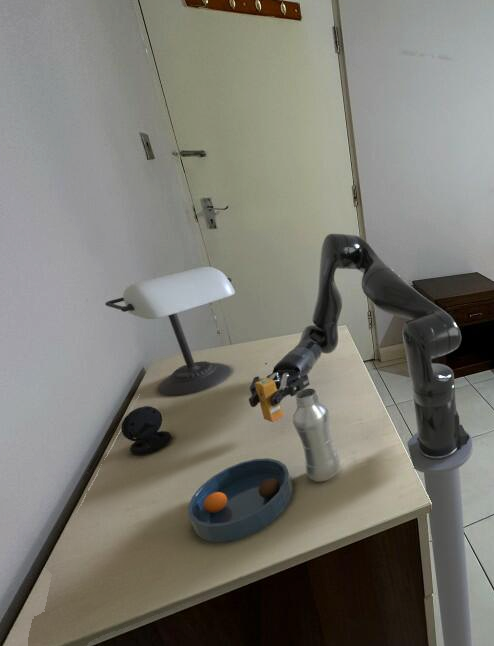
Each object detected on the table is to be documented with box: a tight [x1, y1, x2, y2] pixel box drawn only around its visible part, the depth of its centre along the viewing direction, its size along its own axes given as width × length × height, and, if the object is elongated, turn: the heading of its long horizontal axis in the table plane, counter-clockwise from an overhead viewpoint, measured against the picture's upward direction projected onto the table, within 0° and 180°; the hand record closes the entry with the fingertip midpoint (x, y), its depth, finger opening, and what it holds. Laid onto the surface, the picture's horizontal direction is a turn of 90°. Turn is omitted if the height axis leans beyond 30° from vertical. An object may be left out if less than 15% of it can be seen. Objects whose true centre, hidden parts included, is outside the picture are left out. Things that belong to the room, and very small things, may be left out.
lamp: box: [105, 266, 236, 397], centre depth 112 cm, size 26×24×34 cm
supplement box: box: [255, 377, 284, 423], centre depth 94 cm, size 3×3×10 cm
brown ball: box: [259, 478, 280, 499], centre depth 77 cm, size 4×4×4 cm
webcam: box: [120, 405, 172, 456], centre depth 91 cm, size 8×8×10 cm
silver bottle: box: [292, 387, 341, 483], centre depth 79 cm, size 6×7×20 cm
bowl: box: [187, 457, 293, 544], centre depth 75 cm, size 16×16×4 cm
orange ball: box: [204, 492, 227, 513], centre depth 74 cm, size 4×4×4 cm
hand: (262, 403), depth 91 cm, fingers closed on supplement box, 4 cm apart
